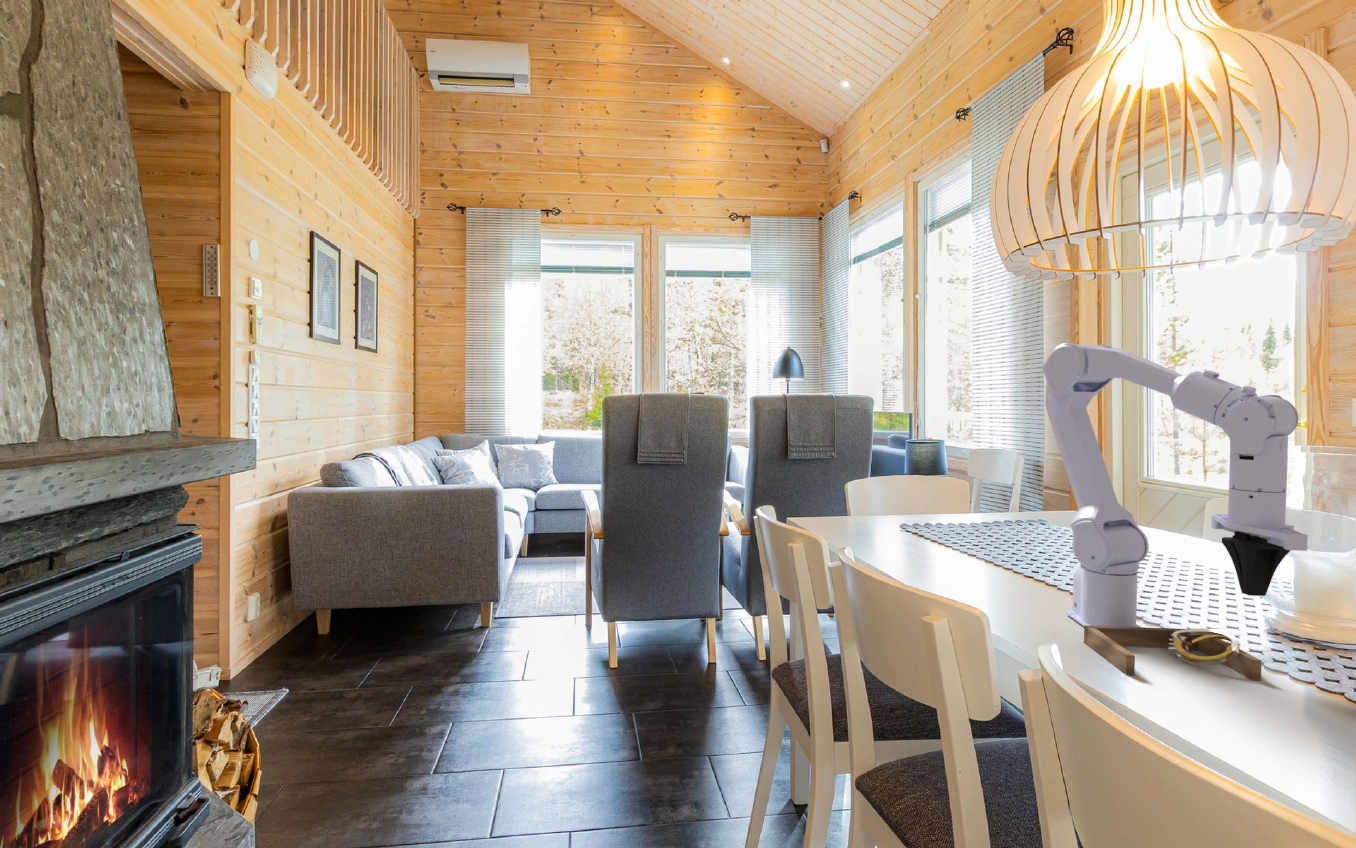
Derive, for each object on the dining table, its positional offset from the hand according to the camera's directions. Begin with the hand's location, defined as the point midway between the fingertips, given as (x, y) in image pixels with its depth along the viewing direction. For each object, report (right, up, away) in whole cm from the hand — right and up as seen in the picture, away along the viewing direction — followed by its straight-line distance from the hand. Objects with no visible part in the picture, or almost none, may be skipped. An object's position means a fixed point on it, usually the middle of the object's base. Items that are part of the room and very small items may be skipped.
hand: (1253, 594), depth 91 cm
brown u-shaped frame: (-9, -10, +4) cm, 14 cm away
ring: (-3, -7, -1) cm, 8 cm away
